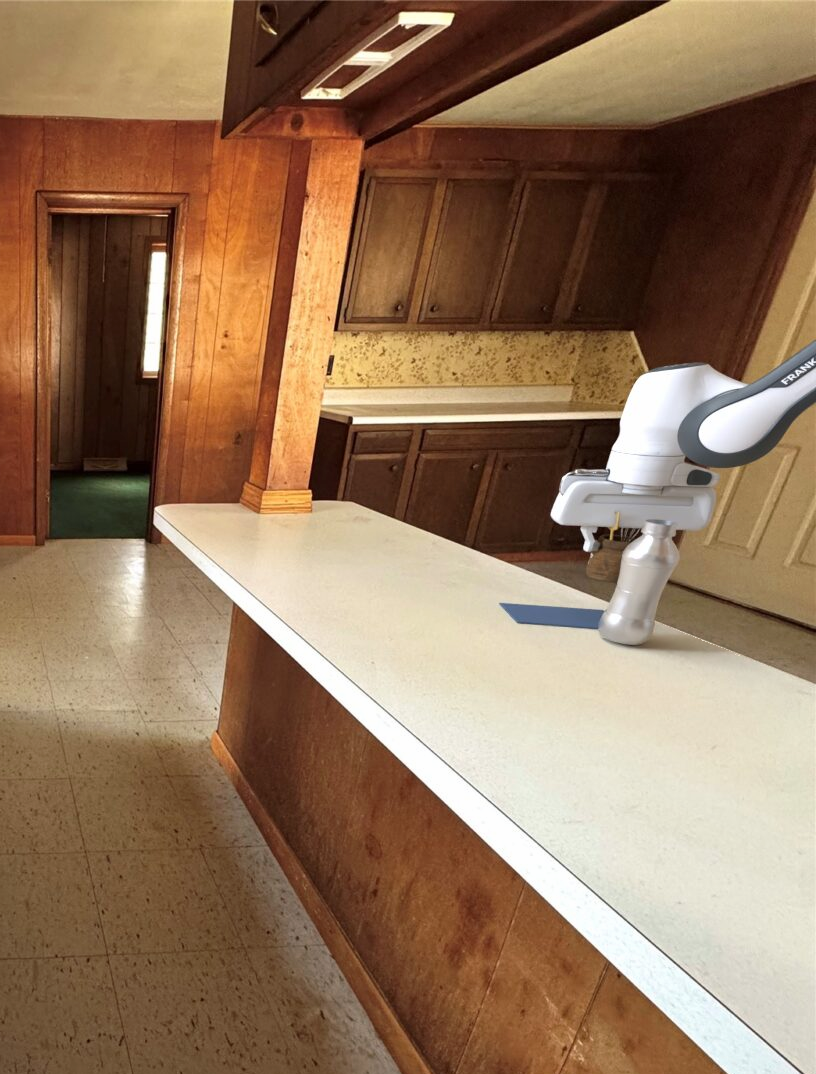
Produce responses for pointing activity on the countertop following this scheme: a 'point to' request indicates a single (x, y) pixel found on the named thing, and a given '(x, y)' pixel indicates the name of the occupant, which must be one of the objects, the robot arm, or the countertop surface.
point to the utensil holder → (608, 555)
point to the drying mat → (554, 615)
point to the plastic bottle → (640, 584)
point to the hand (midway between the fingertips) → (615, 552)
